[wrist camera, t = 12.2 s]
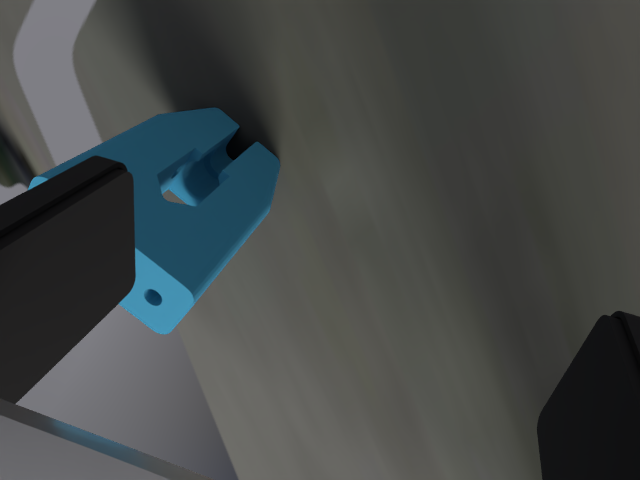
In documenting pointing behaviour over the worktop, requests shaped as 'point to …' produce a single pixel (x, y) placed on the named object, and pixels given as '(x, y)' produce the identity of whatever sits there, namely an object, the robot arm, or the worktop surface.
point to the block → (185, 206)
